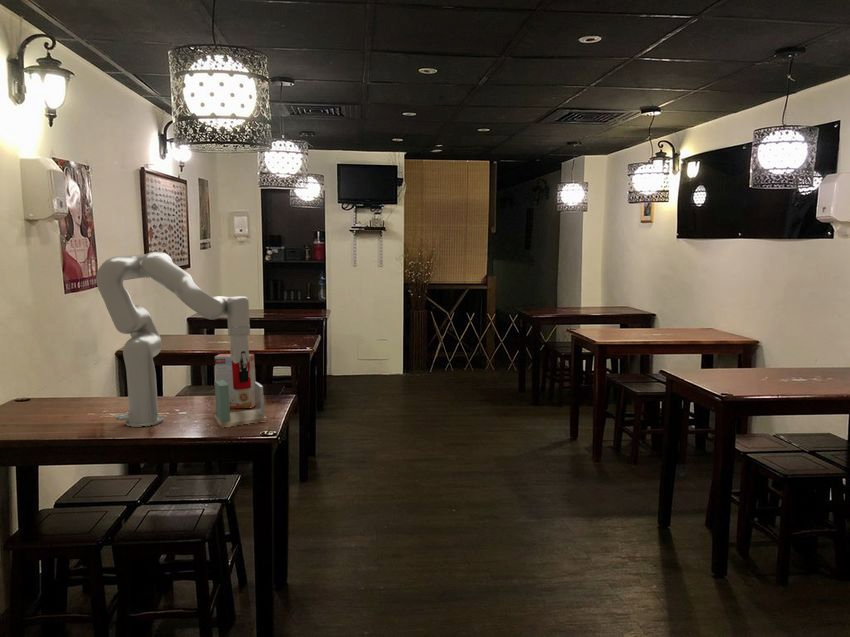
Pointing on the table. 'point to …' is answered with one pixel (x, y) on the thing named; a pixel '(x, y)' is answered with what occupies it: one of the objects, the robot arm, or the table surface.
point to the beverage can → (235, 372)
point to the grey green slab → (222, 400)
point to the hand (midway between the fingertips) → (241, 379)
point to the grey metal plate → (259, 399)
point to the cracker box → (225, 373)
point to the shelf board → (241, 418)
